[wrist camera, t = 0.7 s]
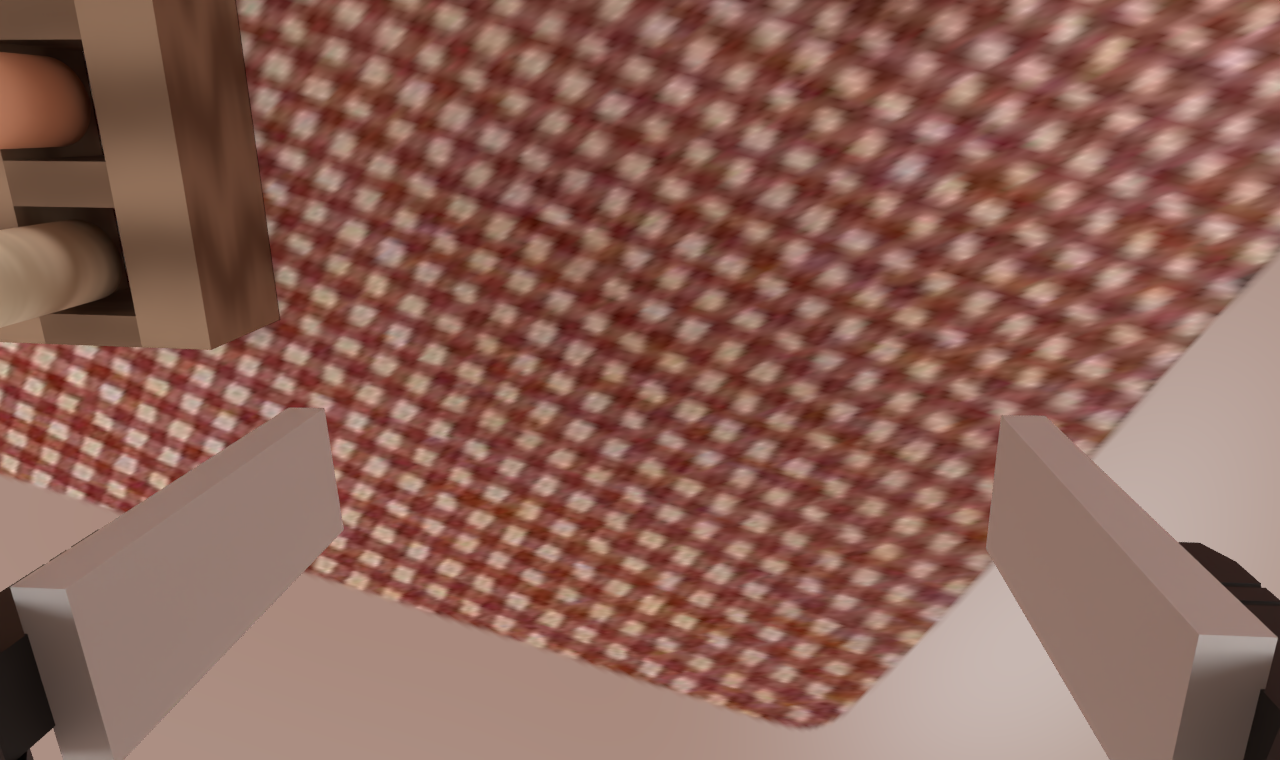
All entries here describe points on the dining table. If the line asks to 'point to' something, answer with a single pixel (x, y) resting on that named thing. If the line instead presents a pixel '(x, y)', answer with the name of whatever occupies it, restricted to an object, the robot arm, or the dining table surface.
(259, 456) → the robot arm
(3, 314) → the beech plug
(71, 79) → the rust plug
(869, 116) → the dining table surface
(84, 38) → the walnut socket block
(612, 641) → the dining table surface
